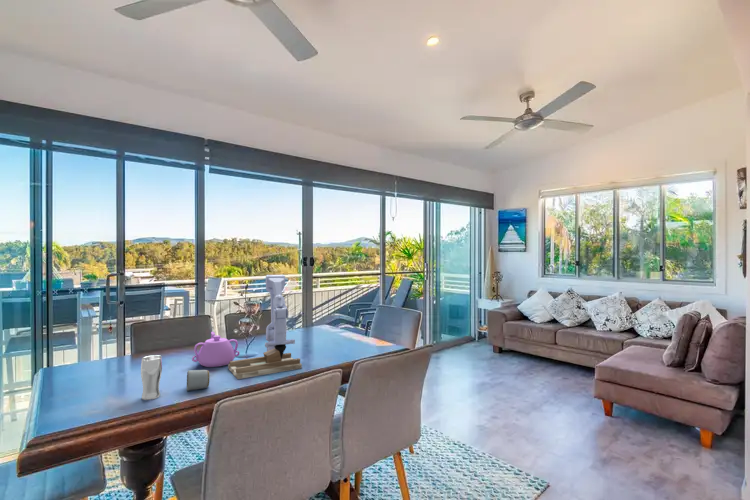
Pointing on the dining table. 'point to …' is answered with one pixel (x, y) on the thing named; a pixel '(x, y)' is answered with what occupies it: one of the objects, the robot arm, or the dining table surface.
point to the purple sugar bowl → (215, 351)
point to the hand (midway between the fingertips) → (279, 360)
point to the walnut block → (272, 356)
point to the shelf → (262, 366)
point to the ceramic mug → (197, 379)
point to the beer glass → (151, 376)
